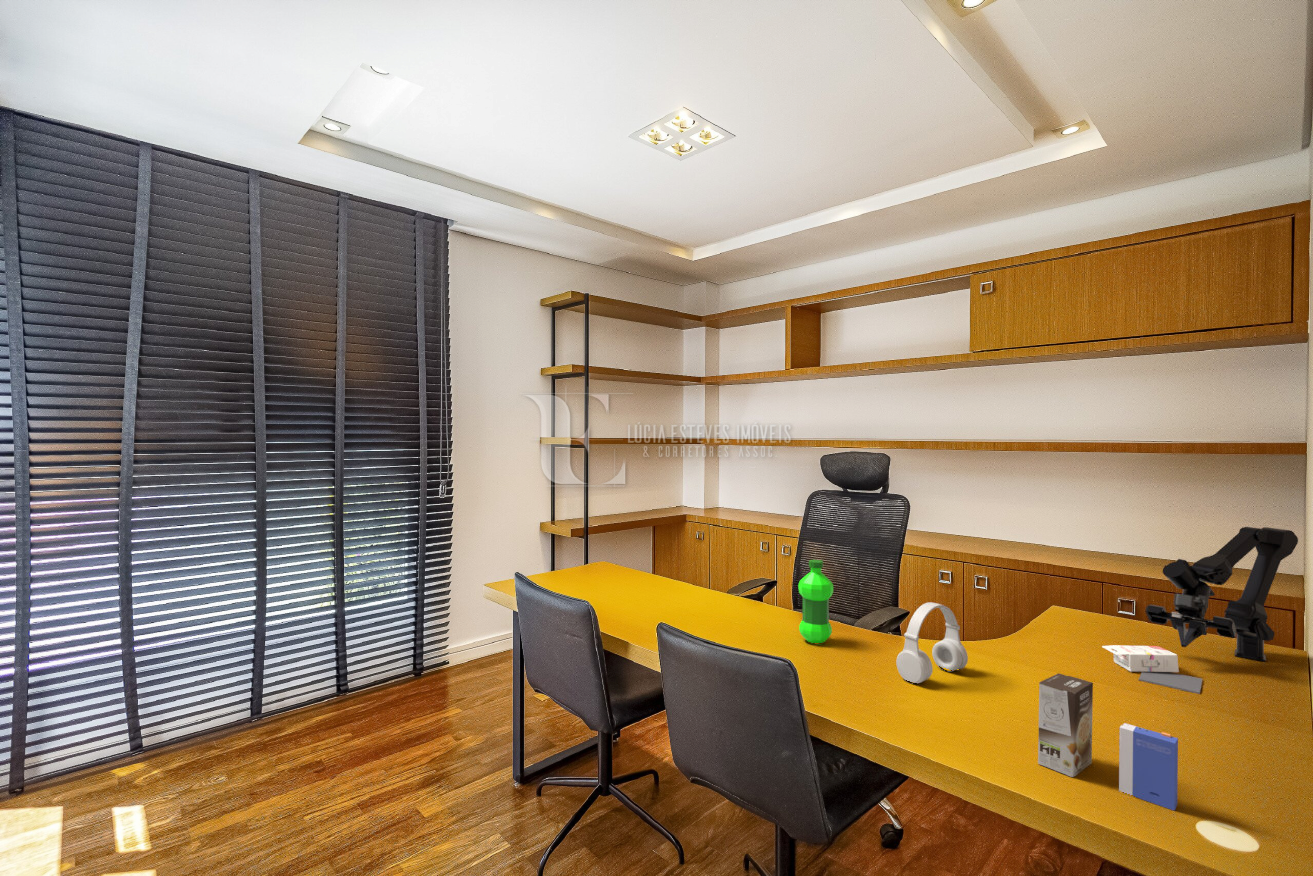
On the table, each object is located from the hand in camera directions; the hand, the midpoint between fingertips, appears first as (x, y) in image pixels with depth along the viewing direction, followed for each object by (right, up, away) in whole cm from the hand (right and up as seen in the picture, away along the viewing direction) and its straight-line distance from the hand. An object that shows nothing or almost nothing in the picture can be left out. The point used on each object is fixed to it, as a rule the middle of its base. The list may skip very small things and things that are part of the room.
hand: (1183, 646), depth 168 cm
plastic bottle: (-96, -6, +22) cm, 98 cm away
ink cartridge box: (-4, -3, 0) cm, 5 cm away
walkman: (-58, -7, -60) cm, 84 cm away
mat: (-9, -7, -7) cm, 14 cm away
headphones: (-71, -6, -5) cm, 72 cm away
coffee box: (-65, -7, -49) cm, 82 cm away
